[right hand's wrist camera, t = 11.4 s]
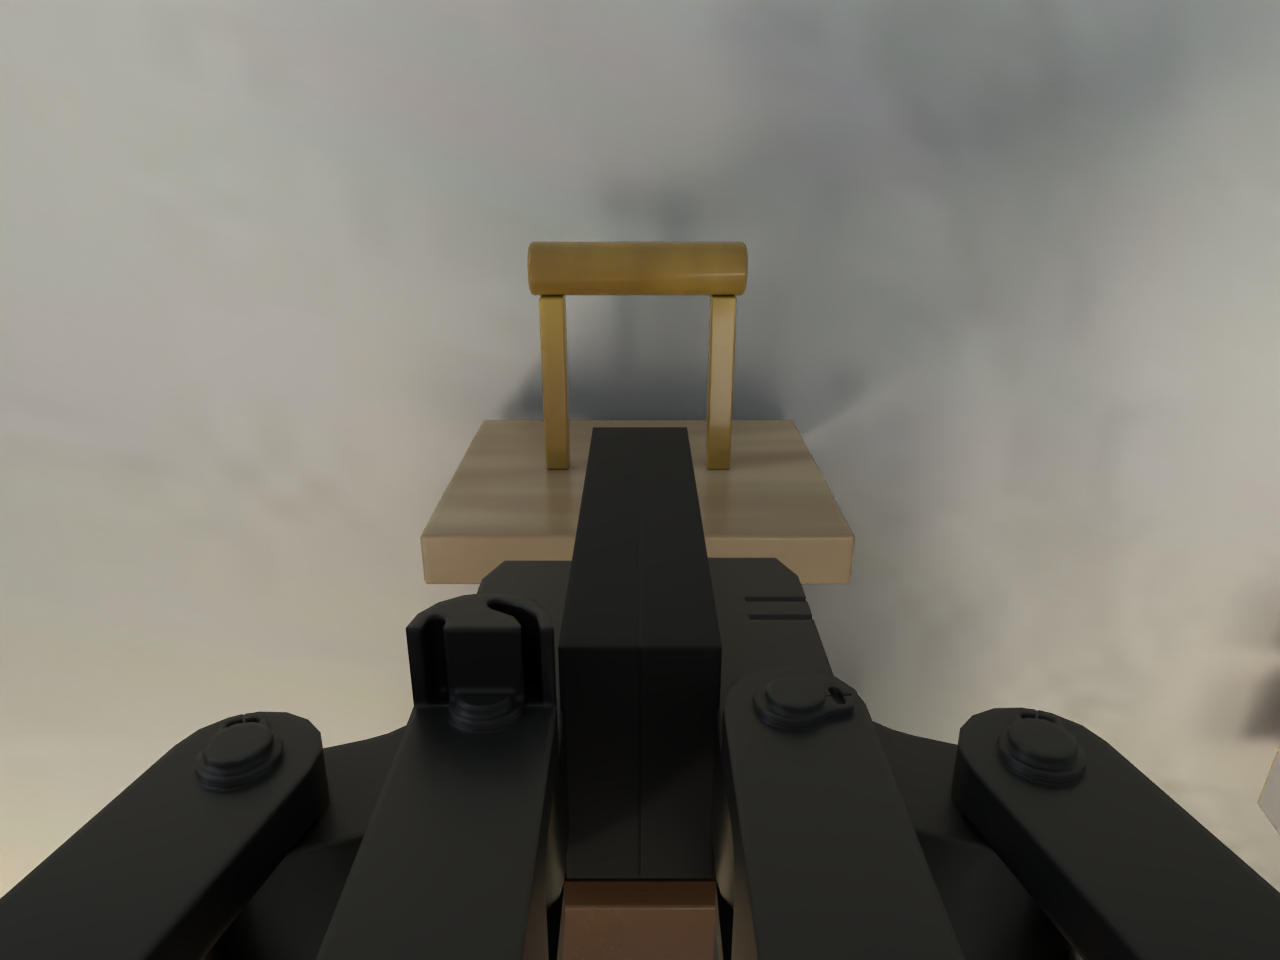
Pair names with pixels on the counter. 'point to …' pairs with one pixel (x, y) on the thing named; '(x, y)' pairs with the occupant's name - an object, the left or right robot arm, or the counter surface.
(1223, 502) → the counter surface
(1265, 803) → the white and red box
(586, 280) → the drawer
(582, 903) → the cabinet
